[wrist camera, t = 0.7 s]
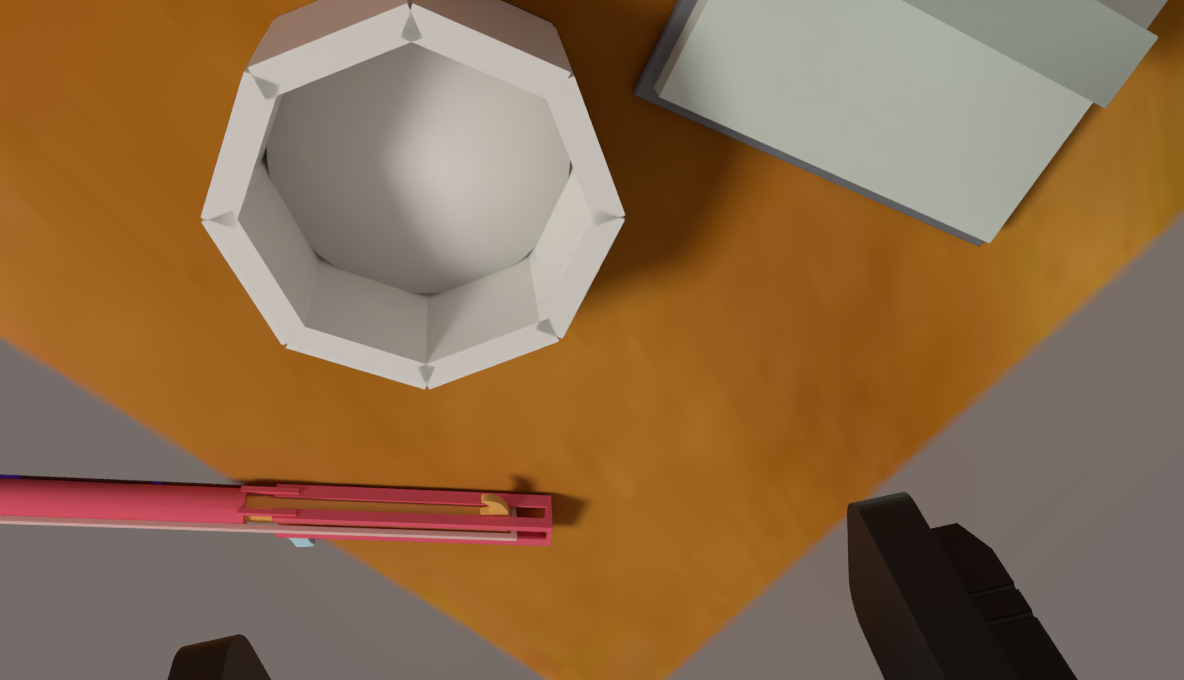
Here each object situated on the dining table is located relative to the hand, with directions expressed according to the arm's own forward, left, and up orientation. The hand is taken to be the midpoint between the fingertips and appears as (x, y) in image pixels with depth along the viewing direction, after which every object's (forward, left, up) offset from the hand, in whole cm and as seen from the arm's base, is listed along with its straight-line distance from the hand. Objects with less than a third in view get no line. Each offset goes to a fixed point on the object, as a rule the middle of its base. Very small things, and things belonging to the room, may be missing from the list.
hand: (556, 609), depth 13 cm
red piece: (+21, -1, -25) cm, 33 cm away
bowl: (+4, -1, -24) cm, 25 cm away
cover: (-9, +13, -24) cm, 29 cm away
